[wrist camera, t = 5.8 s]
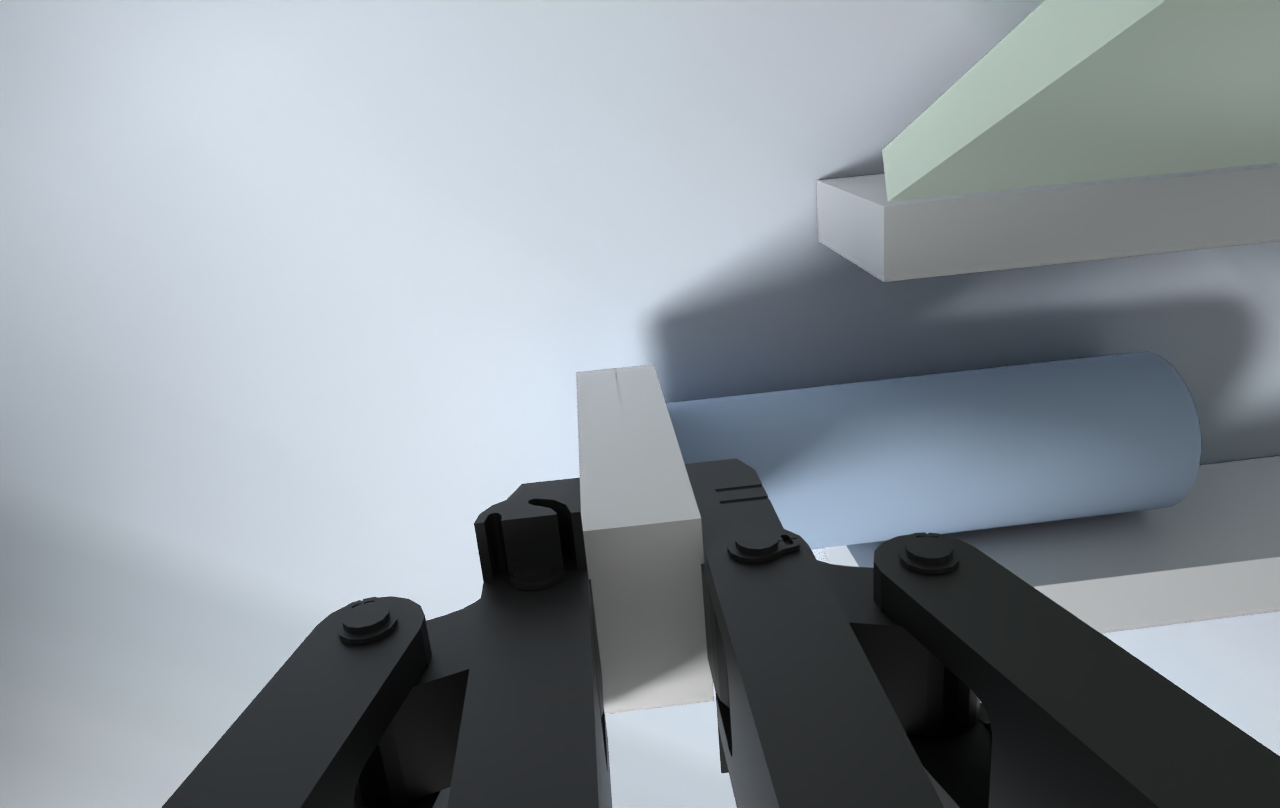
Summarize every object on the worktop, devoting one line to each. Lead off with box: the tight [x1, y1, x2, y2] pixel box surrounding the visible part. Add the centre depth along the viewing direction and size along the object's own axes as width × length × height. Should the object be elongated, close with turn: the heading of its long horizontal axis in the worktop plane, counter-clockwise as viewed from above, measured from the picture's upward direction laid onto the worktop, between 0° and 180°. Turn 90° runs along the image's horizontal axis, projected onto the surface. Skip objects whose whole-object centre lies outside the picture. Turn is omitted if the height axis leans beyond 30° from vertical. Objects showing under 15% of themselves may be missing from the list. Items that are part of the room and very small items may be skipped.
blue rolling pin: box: [666, 352, 1201, 549], centre depth 18 cm, size 10×3×3 cm
